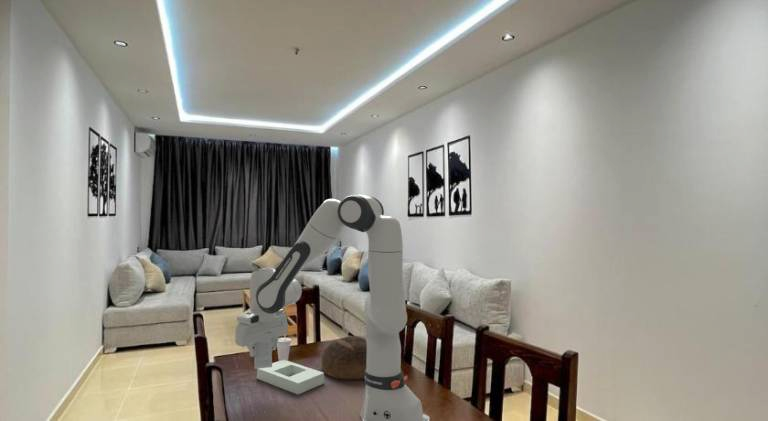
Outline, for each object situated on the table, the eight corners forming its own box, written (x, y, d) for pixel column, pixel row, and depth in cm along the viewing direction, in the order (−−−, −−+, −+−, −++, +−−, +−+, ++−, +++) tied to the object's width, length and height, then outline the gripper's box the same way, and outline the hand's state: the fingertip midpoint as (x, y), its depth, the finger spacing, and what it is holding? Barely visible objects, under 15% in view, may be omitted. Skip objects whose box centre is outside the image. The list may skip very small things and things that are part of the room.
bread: (365, 355, 199) (366, 326, 199) (397, 375, 176) (398, 342, 176) (311, 365, 185) (312, 334, 185) (339, 387, 163) (340, 352, 163)
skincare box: (271, 363, 157) (271, 329, 157) (272, 367, 153) (272, 333, 153) (254, 364, 155) (254, 331, 155) (253, 369, 151) (253, 334, 151)
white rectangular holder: (323, 383, 166) (324, 372, 166) (297, 394, 155) (298, 383, 155) (283, 369, 180) (283, 359, 180) (256, 378, 169) (257, 368, 169)
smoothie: (287, 365, 184) (287, 332, 184) (272, 364, 185) (273, 330, 185) (293, 360, 190) (293, 328, 190) (279, 359, 192) (280, 326, 192)
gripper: (280, 307, 164) (280, 343, 164) (232, 317, 148) (232, 358, 148) (291, 309, 161) (291, 347, 161) (244, 320, 144) (244, 362, 144)
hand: (263, 352), depth 154 cm, fingers closed on skincare box, 7 cm apart
